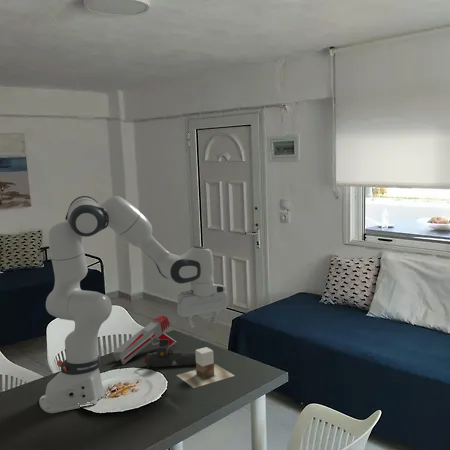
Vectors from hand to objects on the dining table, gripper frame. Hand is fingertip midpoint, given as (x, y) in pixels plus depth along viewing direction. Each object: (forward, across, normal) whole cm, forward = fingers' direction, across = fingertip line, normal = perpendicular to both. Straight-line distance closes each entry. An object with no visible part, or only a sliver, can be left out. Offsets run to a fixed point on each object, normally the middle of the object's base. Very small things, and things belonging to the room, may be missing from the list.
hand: (203, 324), depth 196 cm
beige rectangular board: (+21, +1, 0) cm, 21 cm away
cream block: (+15, 0, 0) cm, 15 cm away
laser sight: (+22, -4, +18) cm, 28 cm away
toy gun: (+21, -7, +37) cm, 43 cm away
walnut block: (+20, +1, 0) cm, 20 cm away
